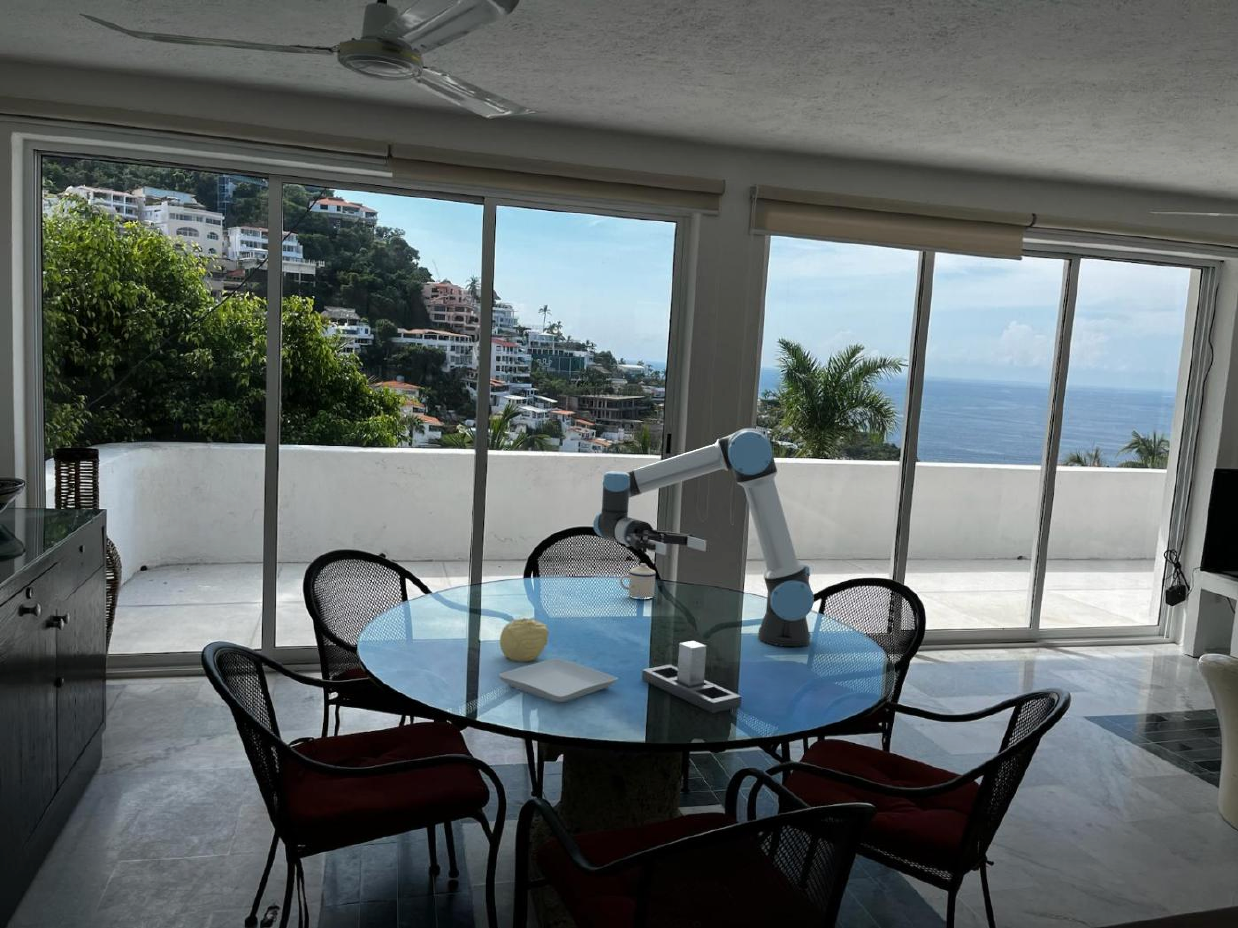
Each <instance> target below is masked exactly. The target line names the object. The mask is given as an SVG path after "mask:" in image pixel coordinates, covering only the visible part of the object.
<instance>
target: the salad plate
mask: <svg viewBox="0 0 1238 928" xmlns="http://www.w3.org/2000/svg"><path fill="white" fill-rule="evenodd" d="M497 677H498V678H499V679H500V680H501V682H503V683H504V684H507V685H509V686H511V687H514V688H517V689H518V688H519V689H518V690H520V689H521V690H520V691H523V690H524V691H523V692H525V691H526V693H529V694H531V695H532V696H537V697H539V696H540V697H539V698H542V699H546V700H548V701H551V702H554V703H555V702H556V703H565V702H568V701H569V702H570V701H572V700H575V699H578V698H582V697H584V696H587V695H590V694H592V693H595V692H598V691H600V690H603V689H606V688H609V687H611V686H612V685H614V684H615V683H616V682H617V681H618V679H619V678H618V677H616V676H613V675H612V674H608V673H605V672H602V671H599V670H597V669H593V668H591V667H588V666H585V665H582V664H577V663H575V662H571V661H569V660H565V659H561V658H557V657H555V658H550V659H547V660H544V661H539V662H536V663H531V664H529V665H525V666H521V667H518V668H515V669H512V670H508V671H505V672H502V673H499V674H498V675H497Z"/></svg>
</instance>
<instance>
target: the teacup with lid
mask: <svg viewBox="0 0 1238 928" xmlns="http://www.w3.org/2000/svg"><path fill="white" fill-rule="evenodd" d="M628 573H629V574H624V575H622V576H621V577H620V579H619V583H620V586H621V588H623V590H626V591H628V595H630V596H632V597H640V598H645V597H646V598H647V597H653V596H654V597H655V585H656V575H657V573H656V571H655V570H654V569H652V568H650V567H648V566H647V564H646V563H643V562H641V563H640V564H639V565H638V566H636V567H634V568H631V569H629V571H628ZM624 578H629V581H628V587H627V586H625V585H624V584H623V579H624Z"/></svg>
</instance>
